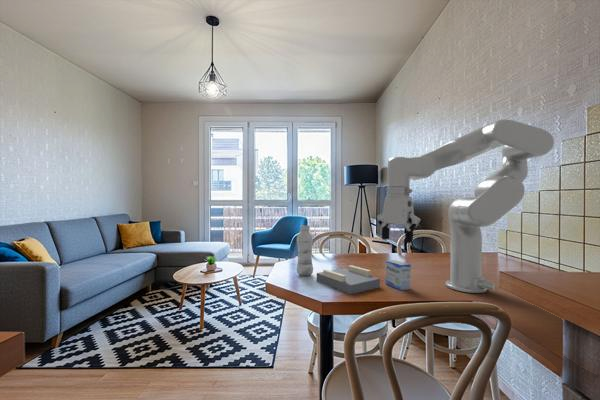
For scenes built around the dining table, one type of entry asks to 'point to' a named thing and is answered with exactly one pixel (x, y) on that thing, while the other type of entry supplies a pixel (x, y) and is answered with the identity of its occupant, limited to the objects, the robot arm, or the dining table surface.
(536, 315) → the dining table surface
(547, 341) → the dining table surface
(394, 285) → the medicine box
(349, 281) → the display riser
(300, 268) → the plastic bottle
